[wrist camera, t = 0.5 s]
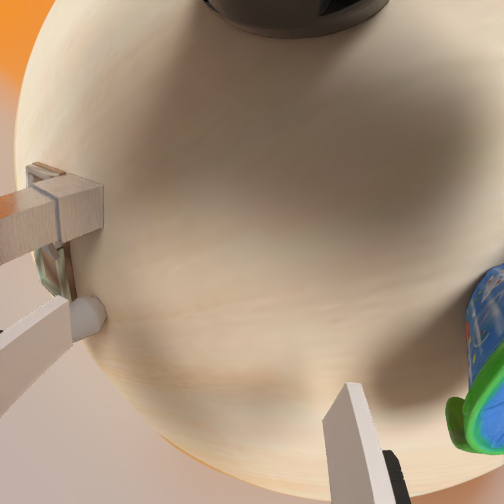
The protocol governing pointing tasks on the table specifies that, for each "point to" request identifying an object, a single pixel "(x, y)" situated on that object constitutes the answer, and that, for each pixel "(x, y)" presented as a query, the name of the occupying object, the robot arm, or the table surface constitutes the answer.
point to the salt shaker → (86, 317)
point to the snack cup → (482, 372)
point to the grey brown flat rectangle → (50, 271)
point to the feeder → (48, 215)
